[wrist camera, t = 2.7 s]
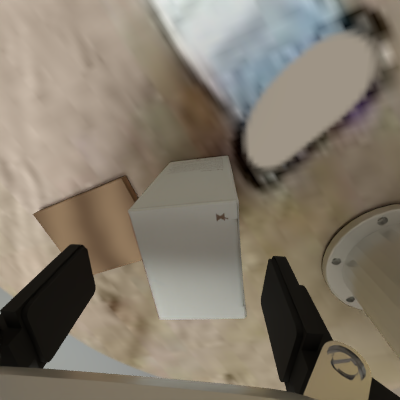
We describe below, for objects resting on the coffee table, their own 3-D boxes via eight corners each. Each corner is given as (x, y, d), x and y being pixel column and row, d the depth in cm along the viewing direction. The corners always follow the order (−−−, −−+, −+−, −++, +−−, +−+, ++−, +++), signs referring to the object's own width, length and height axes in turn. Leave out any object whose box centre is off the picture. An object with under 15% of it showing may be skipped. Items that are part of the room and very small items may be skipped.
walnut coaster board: (125, 175, 21) (121, 178, 20) (165, 248, 24) (162, 253, 23) (40, 210, 23) (33, 214, 22) (85, 272, 26) (80, 278, 25)
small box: (169, 160, 20) (123, 206, 10) (229, 154, 19) (239, 197, 10) (182, 234, 23) (156, 323, 13) (235, 230, 22) (247, 322, 13)
